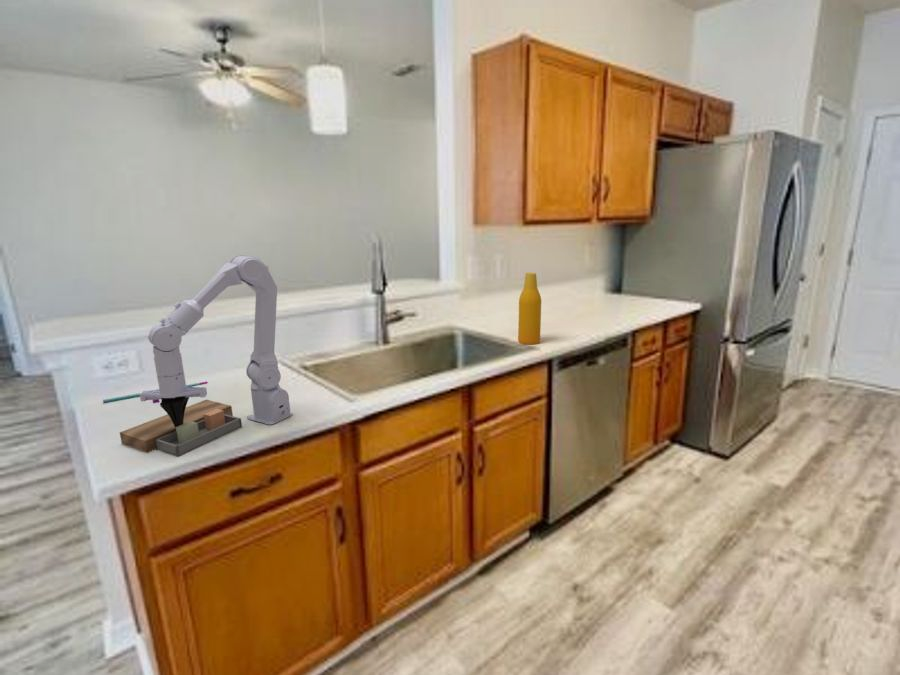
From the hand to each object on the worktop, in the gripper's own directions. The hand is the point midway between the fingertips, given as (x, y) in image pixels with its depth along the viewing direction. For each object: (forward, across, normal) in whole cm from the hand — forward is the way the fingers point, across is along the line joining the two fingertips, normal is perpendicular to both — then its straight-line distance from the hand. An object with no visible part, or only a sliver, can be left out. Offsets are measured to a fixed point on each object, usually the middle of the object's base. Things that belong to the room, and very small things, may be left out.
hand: (179, 425), depth 123 cm
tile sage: (+2, -1, 0) cm, 2 cm away
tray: (+4, -4, 0) cm, 6 cm away
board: (+4, +3, -7) cm, 8 cm away
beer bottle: (+4, -113, -71) cm, 134 cm away
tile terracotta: (+2, -6, -7) cm, 9 cm away
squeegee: (+5, +18, -34) cm, 38 cm away
